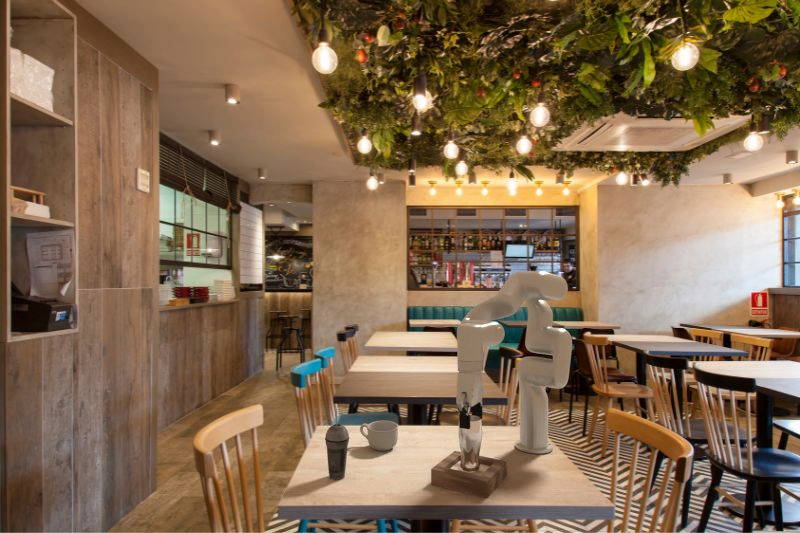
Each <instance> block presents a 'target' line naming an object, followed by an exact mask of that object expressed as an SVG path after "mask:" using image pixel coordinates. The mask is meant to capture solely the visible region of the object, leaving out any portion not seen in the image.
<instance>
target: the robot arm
mask: <svg viewBox="0 0 800 533" xmlns="http://www.w3.org/2000/svg"><path fill="white" fill-rule="evenodd" d="M568 288H569V287H568V283H567V281H566V279H565V278H564V277H562V276H560V275H558V274H554V273H550V272H547V271H541V270H540V271H538V270H537V271H535V270H529V271H528V270H523V271H522V270H520V271H519V270H518V271H515V272H513V273H512V274H510V276H509V277H508V279H507V280H506V281H505V282H504V284H503V285H502V286H501V287H500V289H499V290H498V292H497V293H496V294H495V295H494V296H492V297H489V298H488V299H486V300H484V301H482V302H480V303H478V304H477V305H475V306H473V307H471V309H470V310H469V311H468V312H467V313H466V315H465V316H464V317H463V319H462V320H461V322H460V324H458V325H457V329H456V338H457V339H456V342H457V345H456V347H457V351H456V352H457V354H456V355H457V378H456V380H457V381H456V394H455V395H456V400H455V401H456V405H457V410H458V427H460V428H463V429H470V415H475V416H479V417H481V420H483V418H484V417H483V405H484V404H483V399H484V396H483V395H484V392H483V391H484V388H483V387H484V385H483V384H484V383H483V382H484V381H483V372H484V347H495V346H499V345H500V344H501V343H502V342H503V340H504V338H505V329H504V327H503V326H502V324H501V323H499V322H497V321H496V320H500V319H504V318H507V317H511V316H512V315H515V314H516V313H517V312H518V310H519V309H520V308H521V306H522V305H523V304H524V303H525V305H526V306H527V312H528V315H527V323H526V324H527V325H526V330H525V331H526V332H525V341H524V343H525V348H526V350H527V351H529V352H530V353H534V354H540V355H541V354H542V355H547V356H548V355H549V356H552V358H545V357H539V356H532V355H531V356H524V357H522V358H520V360H518V363H517V365H516V375H517V380H518V384H519V385H518V386H519V439H517V441H515V445H514V446H515V448H516V449H517V450H519V451H521V452H524V453H529V454H535V455H537V454H539V455H541V454H548V453H551V452H552V451H553V448H554V446H553V444H552V443H551V442H549V397H548V393H547V392H546V389H545V388H551V389H557V390H558V389H563V388H565V387H566V386H567V384H568V381H569V376H570V369H571V359H572V358H571V357H572V350H573V349H572V348H573V340H572V336H571V334H570V332H569V331H568V330H566V329H565V328H562V327H553V319H554V313H553V310H552V308H551V307H550V305H549V303H548V302H547V301H551V302H552V301H553V302H555V301H556V302H560V301H562V300H564V299H565V298H566V297H567V295H568V290H569V289H568ZM544 387H545V388H544ZM470 411H471V414H470Z"/></svg>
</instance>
